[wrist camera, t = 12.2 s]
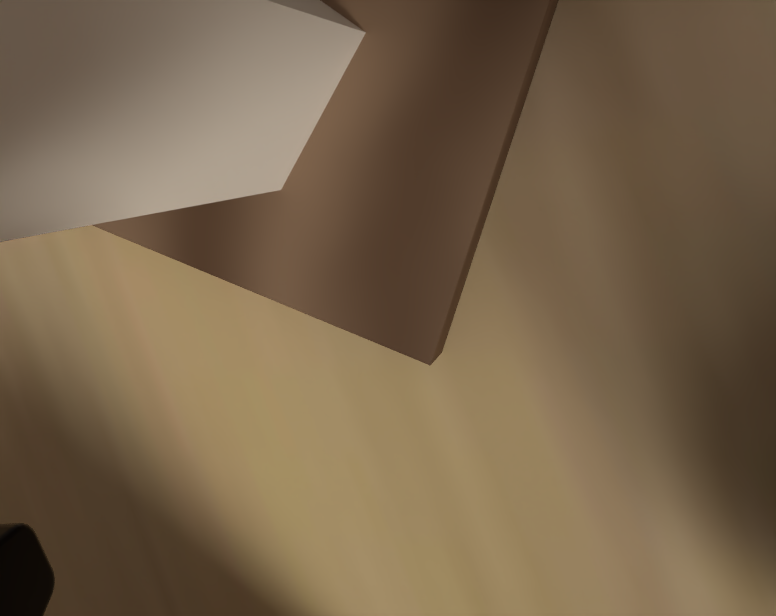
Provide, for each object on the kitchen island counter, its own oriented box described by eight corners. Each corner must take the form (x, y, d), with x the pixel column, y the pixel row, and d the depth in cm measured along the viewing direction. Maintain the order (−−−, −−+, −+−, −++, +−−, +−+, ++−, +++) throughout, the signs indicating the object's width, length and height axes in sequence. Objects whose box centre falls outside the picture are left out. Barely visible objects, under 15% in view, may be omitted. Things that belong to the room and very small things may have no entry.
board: (600, -128, 16) (596, -147, 15) (441, 352, 20) (430, 365, 19) (99, -228, 19) (66, -248, 18) (61, 197, 24) (33, 201, 23)
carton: (365, 32, 17) (-216, -159, 6) (281, 189, 19) (-275, 293, 8) (216, -74, 18) (-579, -439, 6) (149, 89, 20) (-546, 43, 8)
